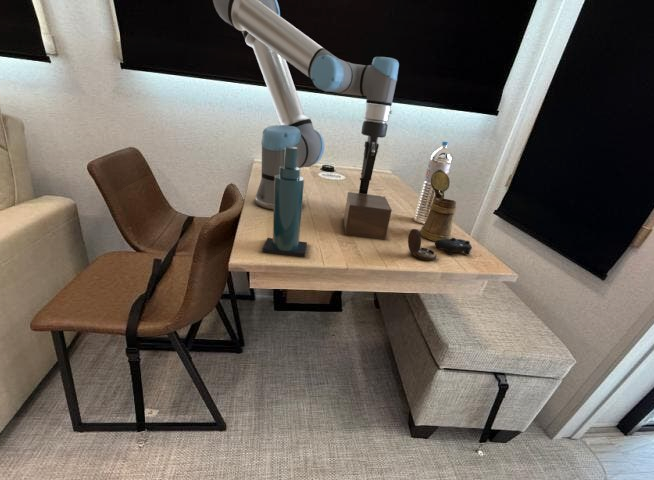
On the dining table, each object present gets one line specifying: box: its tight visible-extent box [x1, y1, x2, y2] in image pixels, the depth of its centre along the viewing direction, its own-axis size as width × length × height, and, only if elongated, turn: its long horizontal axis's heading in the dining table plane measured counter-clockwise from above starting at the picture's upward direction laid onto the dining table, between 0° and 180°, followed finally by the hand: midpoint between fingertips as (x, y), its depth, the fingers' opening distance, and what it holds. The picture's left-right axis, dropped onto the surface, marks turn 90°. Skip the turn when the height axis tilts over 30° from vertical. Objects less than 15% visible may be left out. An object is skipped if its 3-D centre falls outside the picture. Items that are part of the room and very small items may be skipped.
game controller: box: [434, 237, 473, 255], centre depth 91 cm, size 10×5×6 cm
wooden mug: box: [419, 169, 457, 242], centre depth 98 cm, size 9×14×18 cm, turn 6°
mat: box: [262, 237, 308, 258], centre depth 80 cm, size 7×10×1 cm
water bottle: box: [413, 140, 454, 225], centre depth 106 cm, size 7×7×25 cm
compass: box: [407, 228, 437, 262], centre depth 85 cm, size 8×8×7 cm
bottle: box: [272, 146, 305, 251], centre depth 74 cm, size 6×6×22 cm
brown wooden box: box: [343, 191, 393, 240], centre depth 97 cm, size 14×12×9 cm
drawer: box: [349, 191, 378, 196], centre depth 103 cm, size 17×10×7 cm, turn 178°
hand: (361, 199), depth 111 cm, fingers closed
